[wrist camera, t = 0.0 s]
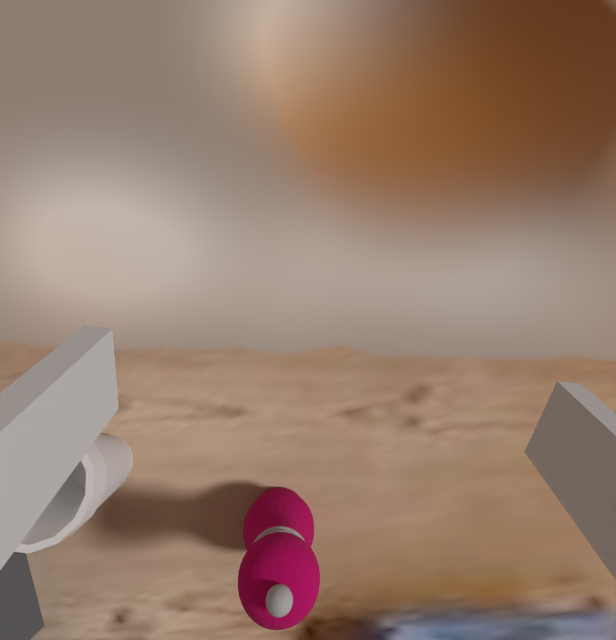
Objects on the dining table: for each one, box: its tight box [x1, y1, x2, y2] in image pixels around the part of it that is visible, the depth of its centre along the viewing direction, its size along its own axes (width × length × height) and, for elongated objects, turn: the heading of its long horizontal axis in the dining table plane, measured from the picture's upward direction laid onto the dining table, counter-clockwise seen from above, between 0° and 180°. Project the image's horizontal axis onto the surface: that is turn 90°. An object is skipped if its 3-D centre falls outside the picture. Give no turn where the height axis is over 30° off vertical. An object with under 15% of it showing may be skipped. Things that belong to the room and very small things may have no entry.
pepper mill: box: [238, 487, 320, 630], centre depth 34 cm, size 7×7×20 cm
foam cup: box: [14, 434, 132, 553], centre depth 37 cm, size 10×9×13 cm
